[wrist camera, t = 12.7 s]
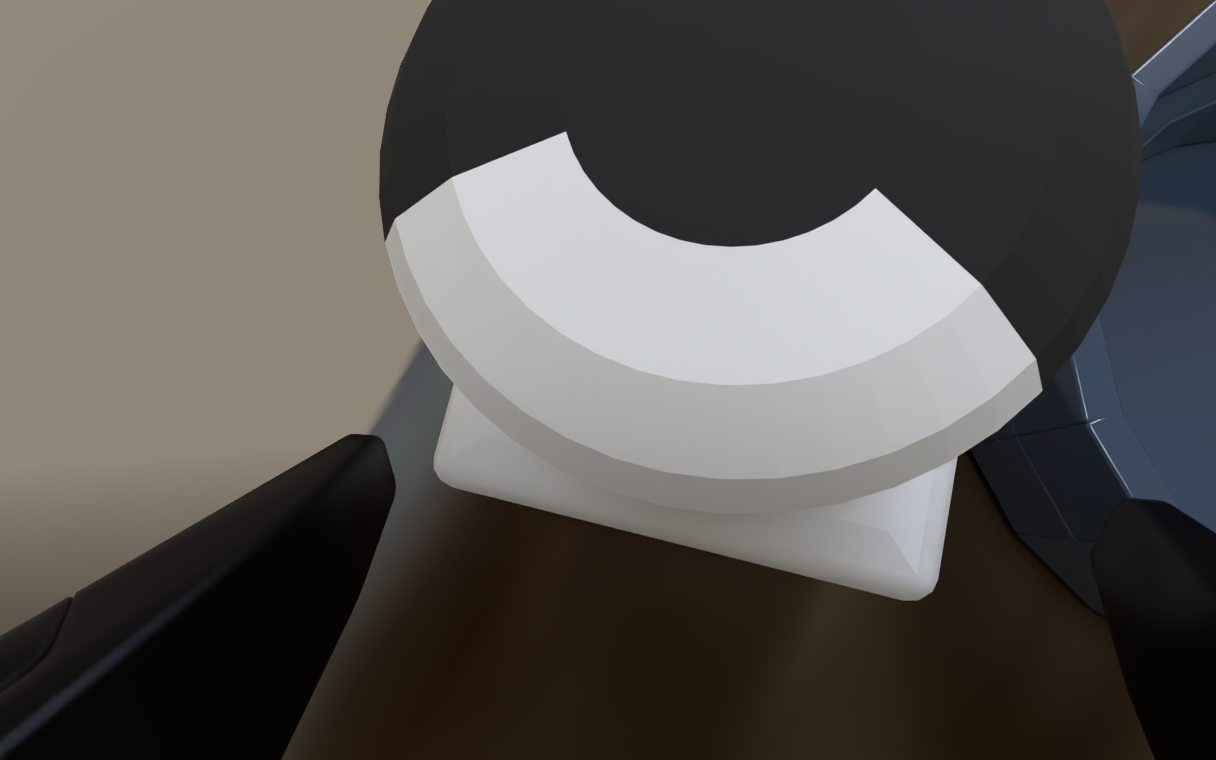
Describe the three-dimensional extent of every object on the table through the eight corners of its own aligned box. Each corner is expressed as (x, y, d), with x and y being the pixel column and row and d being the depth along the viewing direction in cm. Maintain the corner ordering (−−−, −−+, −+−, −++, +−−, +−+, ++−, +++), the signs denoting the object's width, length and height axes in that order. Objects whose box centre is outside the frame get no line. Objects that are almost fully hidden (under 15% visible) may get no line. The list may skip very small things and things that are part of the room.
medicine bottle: (604, 220, 17) (409, -345, 6) (884, 268, 16) (1361, -324, 5) (537, 488, 16) (138, 462, 5) (831, 560, 15) (1268, 764, 4)
